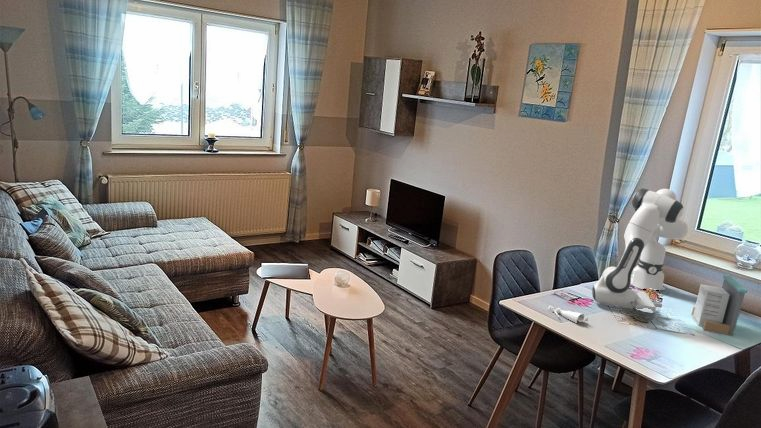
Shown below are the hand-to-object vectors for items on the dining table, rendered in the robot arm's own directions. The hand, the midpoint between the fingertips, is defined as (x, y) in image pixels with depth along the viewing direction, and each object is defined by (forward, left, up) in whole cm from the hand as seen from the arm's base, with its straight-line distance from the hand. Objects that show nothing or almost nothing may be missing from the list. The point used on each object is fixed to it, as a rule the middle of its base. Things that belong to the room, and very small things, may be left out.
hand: (661, 304), depth 246 cm
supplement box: (0, +20, -5) cm, 21 cm away
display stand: (0, +22, -5) cm, 23 cm away
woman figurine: (+24, -43, -6) cm, 50 cm away
